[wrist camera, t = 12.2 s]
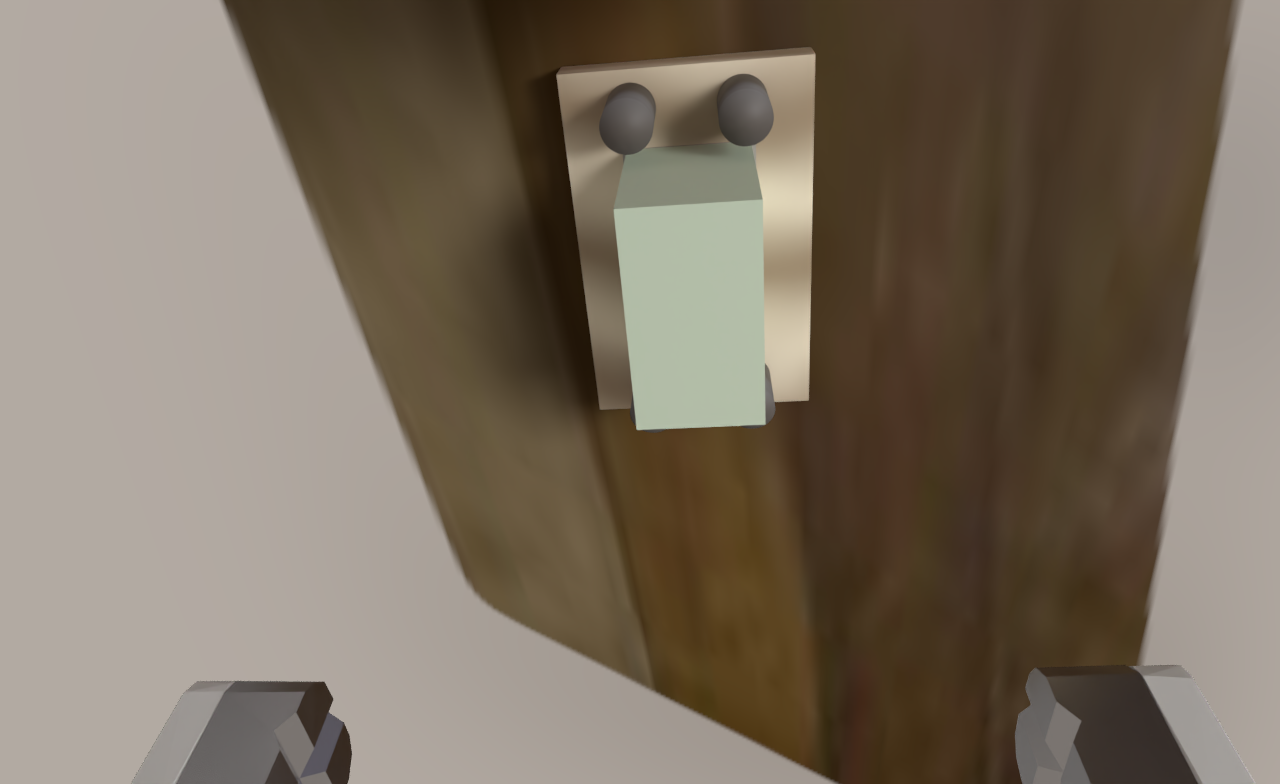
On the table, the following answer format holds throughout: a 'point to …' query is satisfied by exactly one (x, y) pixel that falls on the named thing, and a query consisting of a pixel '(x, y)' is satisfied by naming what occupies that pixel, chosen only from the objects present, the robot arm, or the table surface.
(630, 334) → the sage block
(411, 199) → the table surface
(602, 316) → the stub cradle
